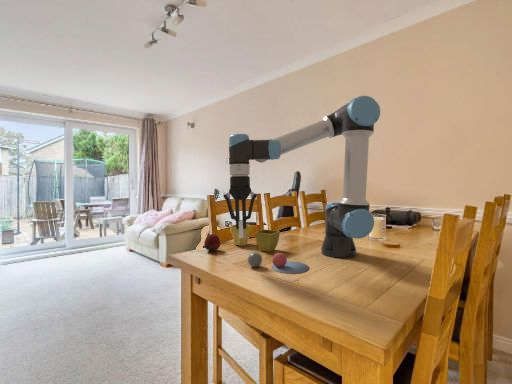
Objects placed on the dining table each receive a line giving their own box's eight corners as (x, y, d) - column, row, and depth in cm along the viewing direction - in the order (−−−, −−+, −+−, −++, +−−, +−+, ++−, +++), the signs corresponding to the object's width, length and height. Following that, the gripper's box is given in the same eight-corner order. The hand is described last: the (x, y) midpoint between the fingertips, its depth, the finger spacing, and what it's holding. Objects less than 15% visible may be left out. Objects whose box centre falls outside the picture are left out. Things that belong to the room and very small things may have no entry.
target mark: (306, 261, 108) (306, 261, 108) (311, 274, 94) (311, 273, 94) (271, 261, 109) (271, 260, 109) (271, 273, 95) (271, 272, 95)
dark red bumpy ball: (223, 249, 128) (222, 232, 128) (216, 253, 121) (216, 236, 120) (208, 248, 130) (208, 232, 130) (201, 252, 123) (201, 235, 122)
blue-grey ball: (245, 255, 105) (253, 267, 105) (244, 259, 99) (252, 271, 99) (257, 248, 104) (265, 259, 104) (256, 252, 99) (264, 264, 99)
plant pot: (232, 241, 143) (232, 223, 143) (251, 242, 142) (251, 224, 142) (228, 246, 133) (228, 227, 133) (249, 247, 132) (249, 227, 131)
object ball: (273, 265, 104) (287, 263, 104) (273, 270, 99) (288, 268, 99) (271, 252, 104) (285, 250, 104) (271, 256, 99) (285, 253, 98)
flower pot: (280, 249, 127) (280, 230, 127) (271, 253, 120) (271, 234, 119) (264, 247, 132) (264, 229, 131) (254, 251, 124) (254, 232, 124)
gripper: (220, 176, 97) (222, 239, 99) (256, 175, 97) (257, 239, 98) (224, 176, 105) (226, 235, 106) (257, 175, 104) (258, 235, 105)
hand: (241, 237), depth 102 cm, fingers closed
